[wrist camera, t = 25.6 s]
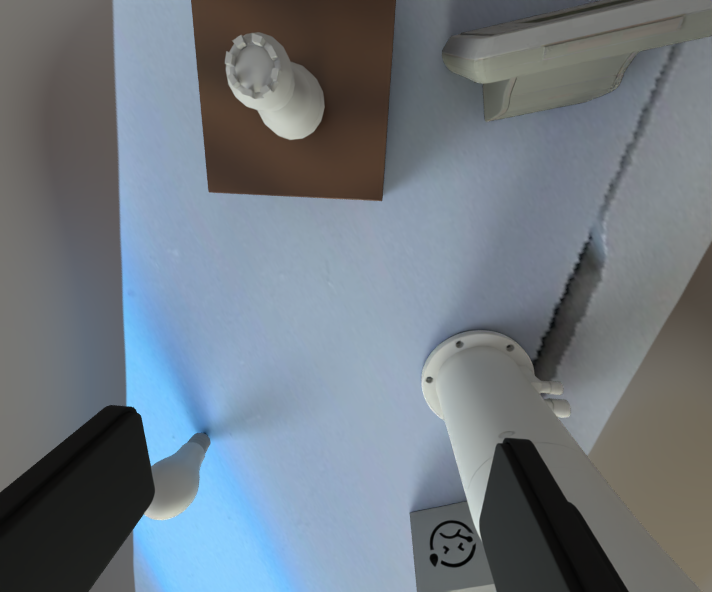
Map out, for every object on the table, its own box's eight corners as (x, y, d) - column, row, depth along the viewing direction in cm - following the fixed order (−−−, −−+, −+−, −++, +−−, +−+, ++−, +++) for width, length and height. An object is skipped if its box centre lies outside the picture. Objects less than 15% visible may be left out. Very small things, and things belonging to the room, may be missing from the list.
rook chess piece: (251, 80, 23) (187, 27, 15) (313, 57, 22) (279, -11, 14) (275, 149, 24) (226, 132, 16) (334, 128, 23) (312, 102, 16)
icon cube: (429, 561, 50) (441, 650, 40) (409, 512, 47) (417, 596, 37) (497, 549, 48) (526, 639, 38) (481, 498, 45) (508, 581, 36)
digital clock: (643, 2, 27) (797, -103, 17) (613, 124, 30) (730, 94, 20) (444, 3, 28) (480, -98, 18) (433, 121, 31) (459, 91, 21)
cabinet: (245, 24, 30) (186, -47, 21) (392, 28, 29) (398, -43, 20) (253, 190, 34) (208, 192, 25) (381, 196, 34) (382, 201, 25)
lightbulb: (224, 458, 46) (179, 539, 35) (181, 449, 46) (123, 527, 35) (228, 422, 44) (181, 496, 33) (182, 413, 44) (121, 484, 33)
